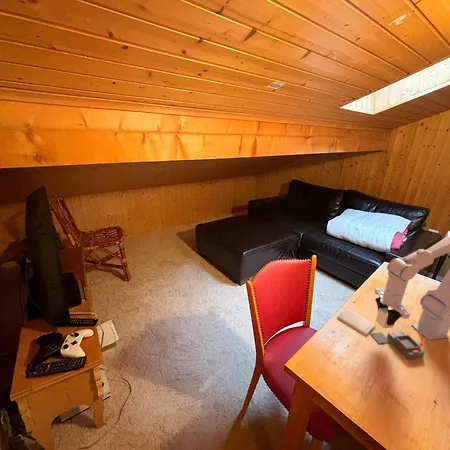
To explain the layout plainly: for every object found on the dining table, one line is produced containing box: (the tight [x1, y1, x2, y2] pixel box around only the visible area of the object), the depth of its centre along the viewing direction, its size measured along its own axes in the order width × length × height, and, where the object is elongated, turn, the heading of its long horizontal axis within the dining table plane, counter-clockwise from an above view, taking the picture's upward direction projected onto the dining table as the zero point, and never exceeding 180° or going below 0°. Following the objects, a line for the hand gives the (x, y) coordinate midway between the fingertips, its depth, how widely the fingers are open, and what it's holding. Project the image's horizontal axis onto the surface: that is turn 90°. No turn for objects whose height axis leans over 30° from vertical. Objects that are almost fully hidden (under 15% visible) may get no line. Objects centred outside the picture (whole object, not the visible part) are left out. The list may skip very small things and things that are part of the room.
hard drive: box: [336, 308, 377, 337], centre depth 103 cm, size 2×8×12 cm
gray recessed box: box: [386, 330, 425, 361], centre depth 90 cm, size 6×10×4 cm, turn 7°
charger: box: [375, 307, 395, 329], centre depth 91 cm, size 4×4×6 cm
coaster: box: [369, 331, 391, 345], centre depth 95 cm, size 5×5×1 cm
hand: (385, 320), depth 91 cm, fingers closed on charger, 4 cm apart
